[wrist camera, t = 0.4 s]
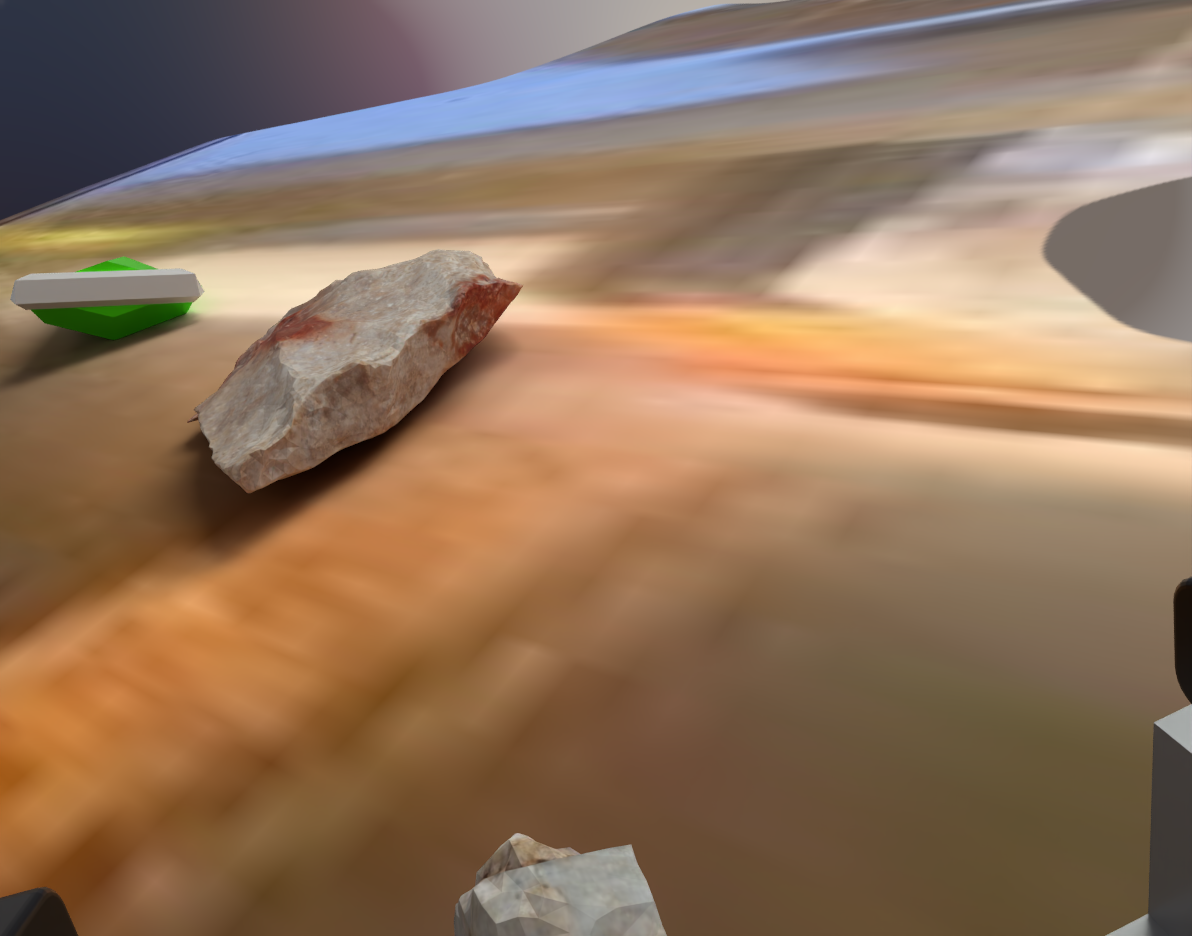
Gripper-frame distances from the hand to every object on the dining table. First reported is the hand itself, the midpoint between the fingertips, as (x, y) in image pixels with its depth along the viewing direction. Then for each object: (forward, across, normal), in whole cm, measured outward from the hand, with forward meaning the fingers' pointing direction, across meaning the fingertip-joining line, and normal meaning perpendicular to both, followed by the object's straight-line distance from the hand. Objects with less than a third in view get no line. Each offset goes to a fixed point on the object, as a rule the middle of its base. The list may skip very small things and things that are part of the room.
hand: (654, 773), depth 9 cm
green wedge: (+76, +24, +4) cm, 80 cm away
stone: (+48, +6, +8) cm, 49 cm away
